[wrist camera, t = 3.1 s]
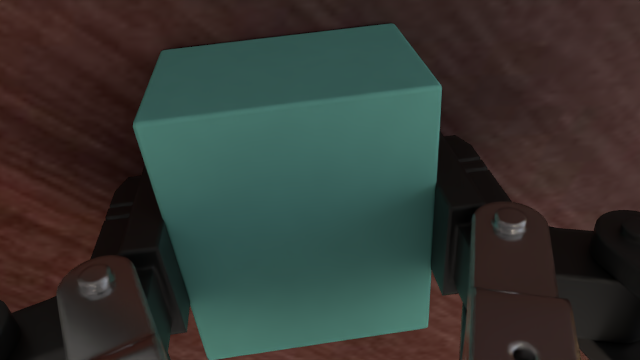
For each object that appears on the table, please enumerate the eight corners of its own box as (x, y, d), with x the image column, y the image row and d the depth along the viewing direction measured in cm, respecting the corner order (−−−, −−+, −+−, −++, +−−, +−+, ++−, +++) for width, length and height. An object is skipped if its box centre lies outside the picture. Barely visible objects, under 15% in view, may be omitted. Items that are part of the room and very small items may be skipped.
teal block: (159, 49, 11) (130, 124, 8) (394, 21, 12) (444, 84, 9) (215, 258, 15) (207, 362, 12) (394, 233, 15) (429, 329, 12)
